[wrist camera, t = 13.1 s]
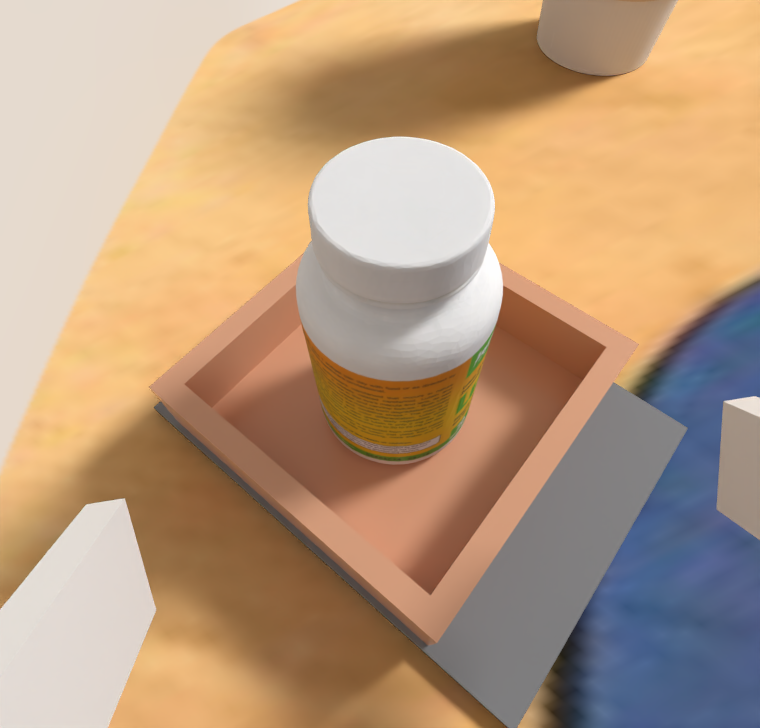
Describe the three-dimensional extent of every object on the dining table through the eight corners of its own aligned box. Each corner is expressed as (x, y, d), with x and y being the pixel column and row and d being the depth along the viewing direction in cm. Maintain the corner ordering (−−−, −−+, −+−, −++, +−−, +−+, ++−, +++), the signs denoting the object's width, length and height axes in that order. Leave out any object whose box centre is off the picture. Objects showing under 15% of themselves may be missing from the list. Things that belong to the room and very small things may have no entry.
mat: (682, 432, 20) (687, 428, 19) (510, 731, 15) (514, 732, 15) (359, 231, 25) (359, 225, 24) (157, 411, 20) (153, 407, 20)
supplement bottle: (472, 469, 18) (549, 299, 10) (316, 467, 18) (257, 297, 10) (463, 337, 21) (516, 114, 12) (327, 336, 21) (287, 113, 12)
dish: (606, 383, 20) (639, 344, 18) (427, 645, 16) (436, 642, 13) (376, 240, 24) (375, 190, 21) (178, 422, 20) (148, 387, 17)
